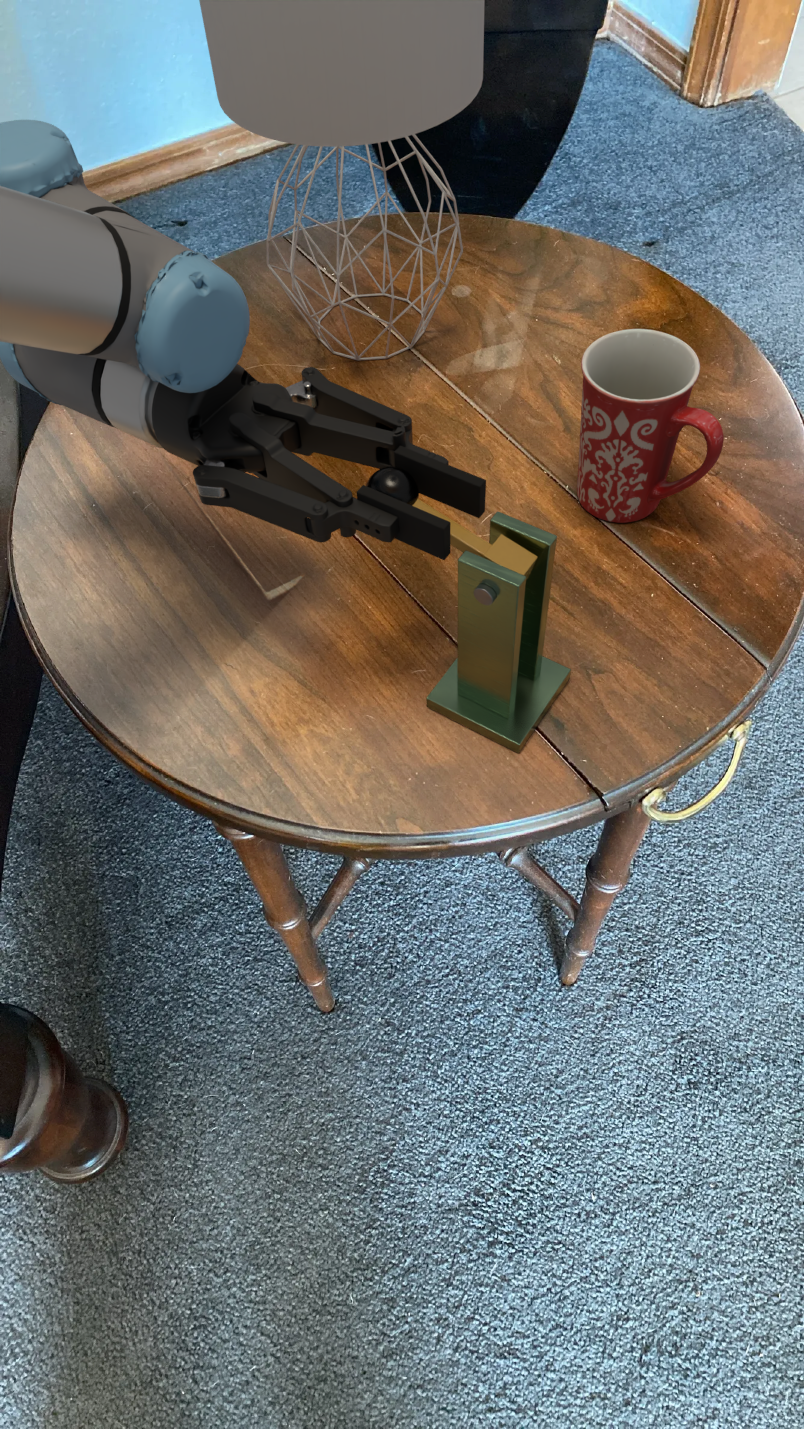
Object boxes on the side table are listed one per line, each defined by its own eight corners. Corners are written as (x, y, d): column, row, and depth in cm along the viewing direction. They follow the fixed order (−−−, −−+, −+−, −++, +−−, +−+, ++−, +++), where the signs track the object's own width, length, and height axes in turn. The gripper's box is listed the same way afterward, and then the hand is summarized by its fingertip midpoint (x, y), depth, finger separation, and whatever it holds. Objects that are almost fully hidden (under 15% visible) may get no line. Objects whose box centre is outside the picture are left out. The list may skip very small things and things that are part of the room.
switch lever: (350, 514, 65) (356, 478, 62) (380, 482, 66) (387, 445, 63) (504, 611, 63) (518, 580, 60) (531, 576, 65) (546, 543, 61)
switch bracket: (426, 706, 74) (419, 563, 61) (479, 636, 77) (485, 486, 64) (518, 753, 71) (532, 614, 58) (570, 678, 74) (594, 530, 61)
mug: (543, 494, 86) (556, 363, 75) (611, 445, 89) (634, 312, 78) (655, 570, 80) (688, 441, 69) (724, 515, 83) (765, 383, 72)
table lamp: (226, 312, 103) (117, -186, 70) (403, 242, 109) (379, -248, 76) (331, 425, 92) (260, -104, 59) (521, 339, 98) (554, -184, 65)
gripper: (263, 381, 76) (525, 486, 68) (118, 510, 69) (395, 645, 61) (246, 293, 70) (533, 397, 62) (86, 424, 62) (389, 562, 55)
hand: (464, 519), depth 61 cm, fingers closed on switch lever, 4 cm apart
